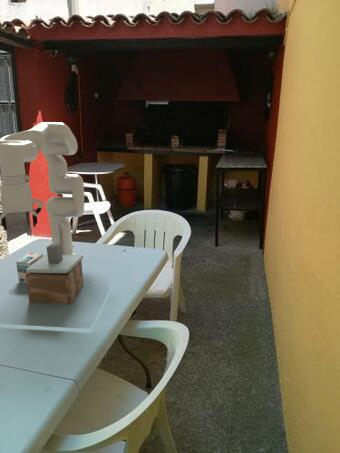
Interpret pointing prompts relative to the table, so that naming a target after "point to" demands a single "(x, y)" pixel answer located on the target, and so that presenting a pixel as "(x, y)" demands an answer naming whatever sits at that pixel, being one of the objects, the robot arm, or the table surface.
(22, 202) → the robot arm
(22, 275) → the light bulb box
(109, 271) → the table surface
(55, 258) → the lid
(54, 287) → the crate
